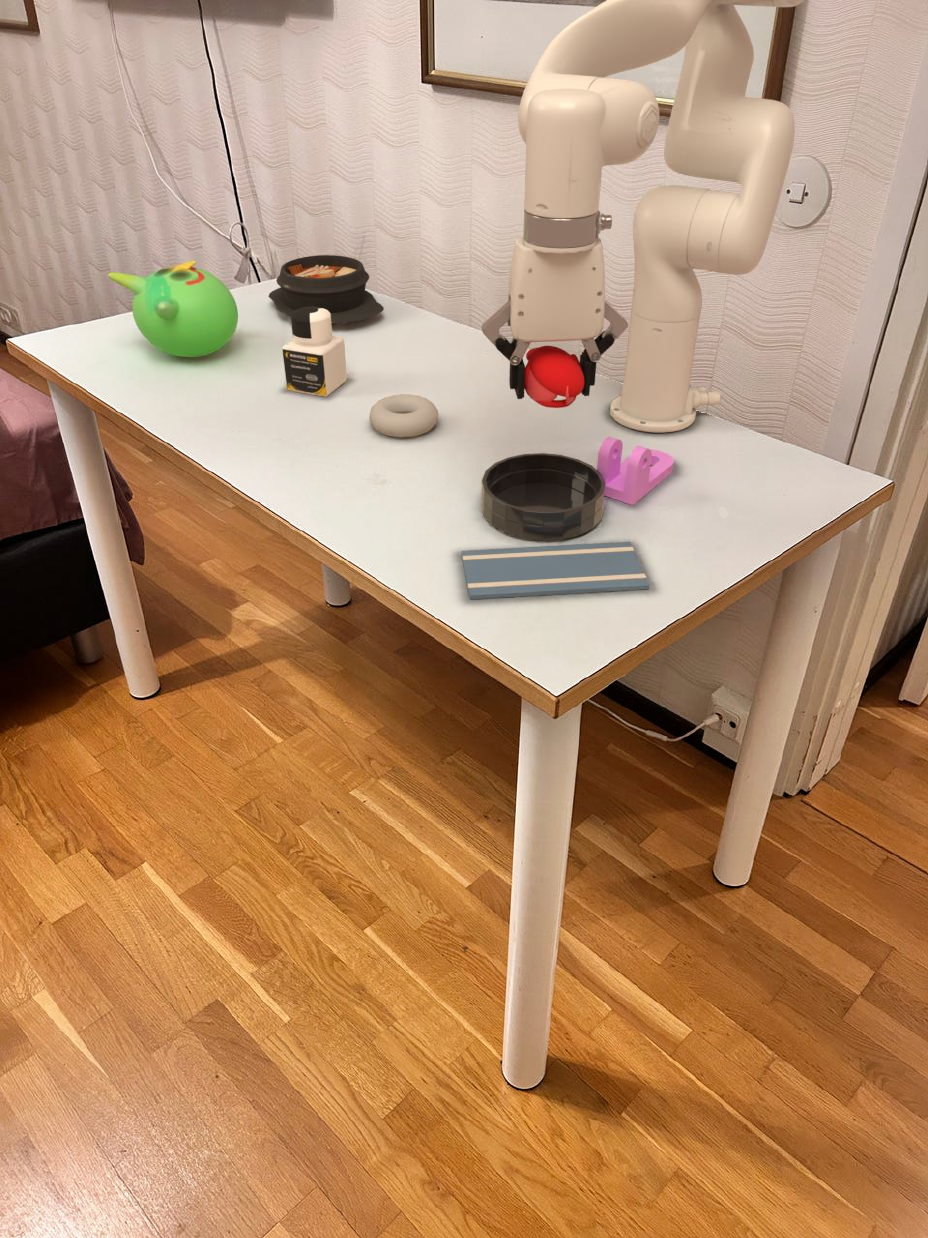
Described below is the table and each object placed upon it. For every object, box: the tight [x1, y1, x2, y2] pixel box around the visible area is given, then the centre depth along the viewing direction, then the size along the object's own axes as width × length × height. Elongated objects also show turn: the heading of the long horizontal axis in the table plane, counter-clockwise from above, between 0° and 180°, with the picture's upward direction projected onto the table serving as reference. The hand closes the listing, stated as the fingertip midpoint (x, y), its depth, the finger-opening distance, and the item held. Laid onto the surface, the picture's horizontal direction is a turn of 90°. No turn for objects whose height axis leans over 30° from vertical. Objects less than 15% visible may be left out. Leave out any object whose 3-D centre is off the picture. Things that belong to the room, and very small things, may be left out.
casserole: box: [268, 254, 385, 325], centre depth 173 cm, size 25×19×8 cm
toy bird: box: [107, 260, 239, 358], centre depth 155 cm, size 18×17×15 cm
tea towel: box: [461, 541, 650, 601], centre depth 106 cm, size 20×9×1 cm, turn 96°
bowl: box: [481, 452, 606, 542], centre depth 116 cm, size 15×15×4 cm
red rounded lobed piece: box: [524, 345, 584, 409], centre depth 105 cm, size 8×6×6 cm
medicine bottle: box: [281, 306, 348, 398], centre depth 145 cm, size 7×7×12 cm
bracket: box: [596, 436, 675, 506], centre depth 122 cm, size 13×6×7 cm, turn 143°
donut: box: [368, 393, 439, 438], centre depth 136 cm, size 10×4×10 cm
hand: (551, 391), depth 106 cm, fingers closed on red rounded lobed piece, 6 cm apart
